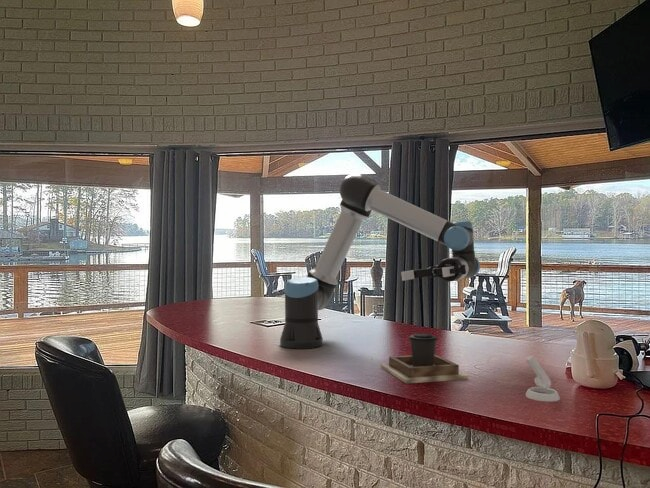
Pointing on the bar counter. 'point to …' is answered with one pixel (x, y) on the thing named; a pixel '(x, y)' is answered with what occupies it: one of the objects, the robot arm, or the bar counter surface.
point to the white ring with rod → (541, 384)
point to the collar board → (423, 370)
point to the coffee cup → (423, 349)
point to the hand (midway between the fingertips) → (422, 274)
